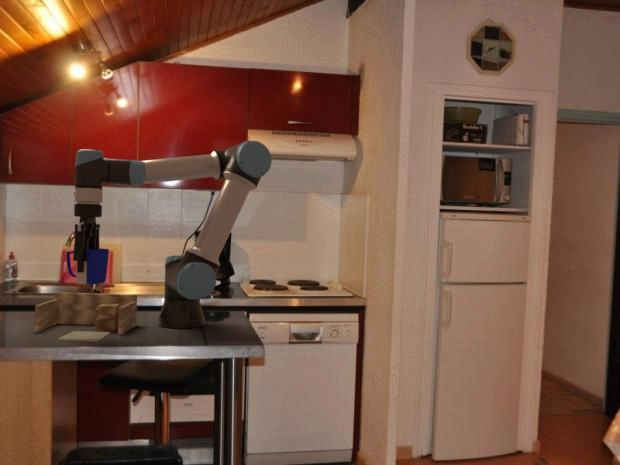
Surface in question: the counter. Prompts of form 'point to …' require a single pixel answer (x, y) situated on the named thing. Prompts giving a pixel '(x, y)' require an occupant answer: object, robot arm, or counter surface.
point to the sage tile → (84, 336)
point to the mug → (93, 265)
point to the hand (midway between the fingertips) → (86, 282)
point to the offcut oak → (108, 311)
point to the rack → (84, 310)
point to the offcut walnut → (106, 325)
